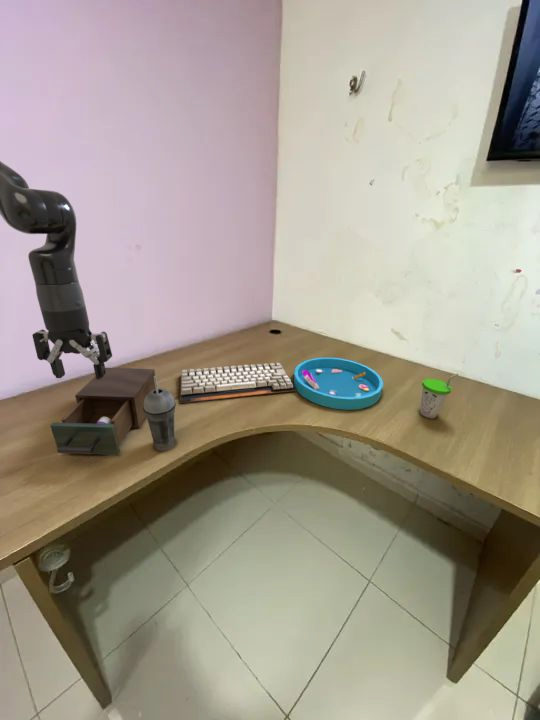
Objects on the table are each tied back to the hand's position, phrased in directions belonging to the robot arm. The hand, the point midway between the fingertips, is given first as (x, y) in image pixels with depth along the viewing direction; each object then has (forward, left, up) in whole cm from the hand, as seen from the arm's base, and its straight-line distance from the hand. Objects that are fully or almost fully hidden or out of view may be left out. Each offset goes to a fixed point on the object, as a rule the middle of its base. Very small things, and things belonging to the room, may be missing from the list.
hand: (80, 377), depth 68 cm
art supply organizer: (+66, +34, -19) cm, 77 cm away
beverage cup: (+16, +1, -19) cm, 25 cm away
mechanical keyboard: (+31, +33, -19) cm, 50 cm away
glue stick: (+1, +1, -17) cm, 17 cm away
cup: (+91, +18, -19) cm, 95 cm away
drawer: (0, +1, -18) cm, 18 cm away
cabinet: (0, +15, -19) cm, 25 cm away
